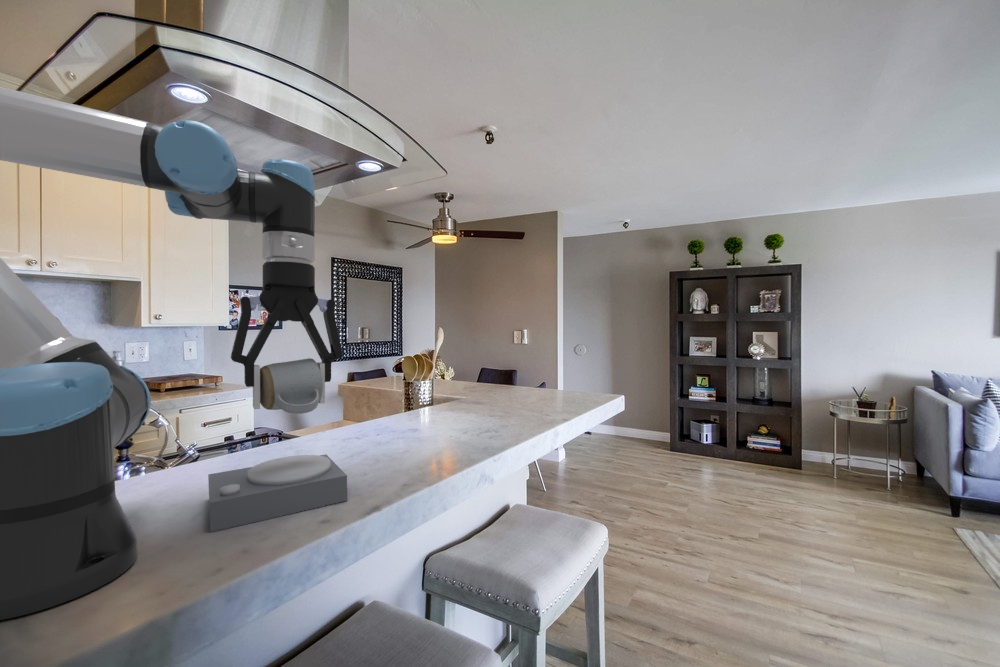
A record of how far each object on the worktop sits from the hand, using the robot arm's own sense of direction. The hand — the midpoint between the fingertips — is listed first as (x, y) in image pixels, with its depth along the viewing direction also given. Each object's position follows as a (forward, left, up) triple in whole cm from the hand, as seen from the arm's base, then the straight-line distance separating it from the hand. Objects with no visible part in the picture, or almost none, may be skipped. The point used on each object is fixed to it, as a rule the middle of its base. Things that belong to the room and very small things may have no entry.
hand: (289, 404), depth 72 cm
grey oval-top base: (-2, 0, -15) cm, 15 cm away
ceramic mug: (+1, -1, -1) cm, 1 cm away
